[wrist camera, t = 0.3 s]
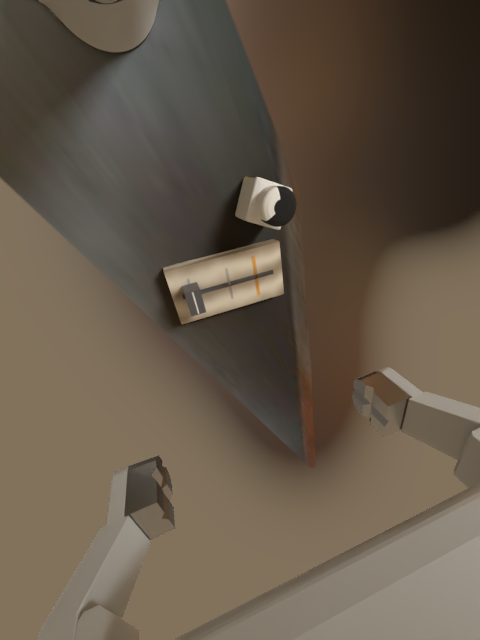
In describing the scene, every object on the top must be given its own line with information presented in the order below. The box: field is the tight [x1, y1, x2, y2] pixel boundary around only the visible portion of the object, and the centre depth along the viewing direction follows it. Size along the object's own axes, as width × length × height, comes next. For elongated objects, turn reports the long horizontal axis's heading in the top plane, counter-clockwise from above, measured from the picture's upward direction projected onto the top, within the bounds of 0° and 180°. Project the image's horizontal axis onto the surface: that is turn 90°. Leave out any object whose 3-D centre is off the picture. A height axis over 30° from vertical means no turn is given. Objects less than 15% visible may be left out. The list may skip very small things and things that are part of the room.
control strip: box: [163, 239, 284, 324], centre depth 55 cm, size 12×24×3 cm, turn 100°
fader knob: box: [182, 282, 206, 317], centre depth 51 cm, size 5×3×4 cm, turn 10°
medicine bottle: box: [235, 177, 296, 230], centre depth 46 cm, size 7×7×12 cm
